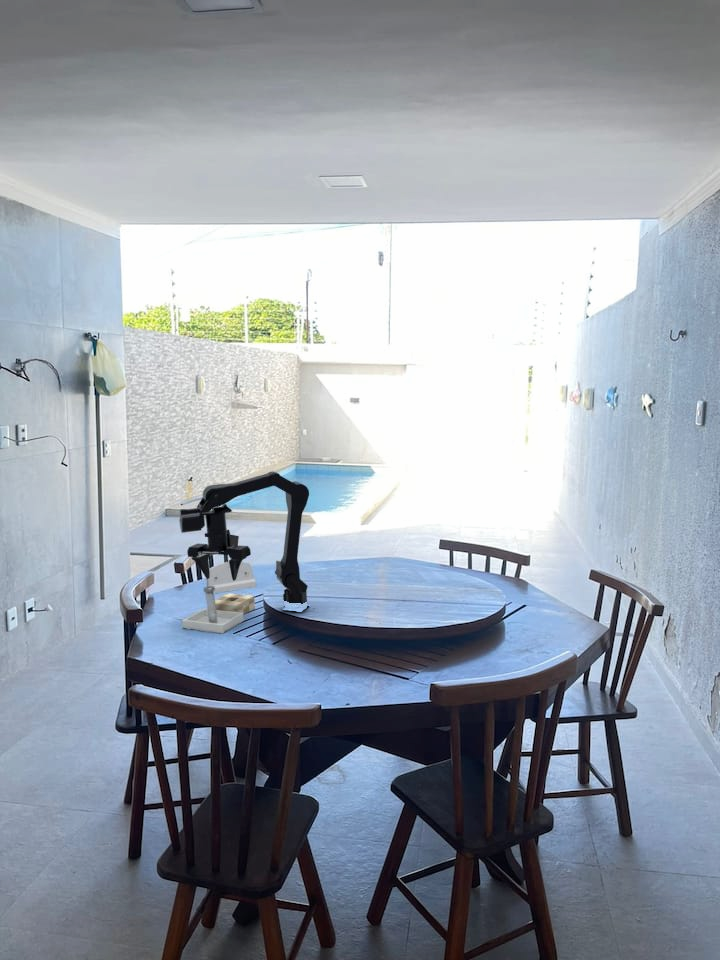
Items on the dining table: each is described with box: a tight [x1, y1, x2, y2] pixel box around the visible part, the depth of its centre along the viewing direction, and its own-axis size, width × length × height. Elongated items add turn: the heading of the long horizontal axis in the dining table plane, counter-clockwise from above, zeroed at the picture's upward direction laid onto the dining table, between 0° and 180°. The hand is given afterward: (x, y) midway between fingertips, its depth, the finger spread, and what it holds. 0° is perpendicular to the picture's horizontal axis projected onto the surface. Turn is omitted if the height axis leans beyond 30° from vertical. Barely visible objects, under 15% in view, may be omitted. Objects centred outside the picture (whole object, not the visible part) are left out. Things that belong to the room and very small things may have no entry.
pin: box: [203, 586, 217, 624], centre depth 225 cm, size 3×3×11 cm
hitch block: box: [215, 592, 256, 616], centre depth 237 cm, size 10×10×4 cm
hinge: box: [206, 561, 257, 595], centre depth 263 cm, size 17×5×10 cm, turn 116°
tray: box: [181, 608, 244, 635], centre depth 226 cm, size 14×11×2 cm
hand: (221, 579), depth 228 cm, fingers open, 9 cm apart
